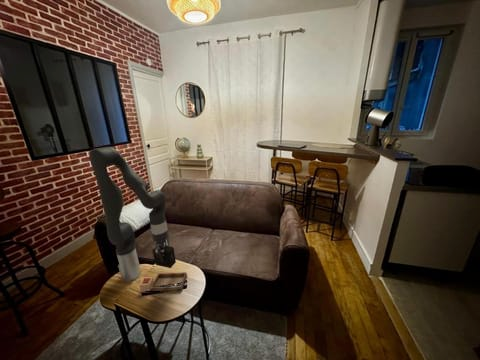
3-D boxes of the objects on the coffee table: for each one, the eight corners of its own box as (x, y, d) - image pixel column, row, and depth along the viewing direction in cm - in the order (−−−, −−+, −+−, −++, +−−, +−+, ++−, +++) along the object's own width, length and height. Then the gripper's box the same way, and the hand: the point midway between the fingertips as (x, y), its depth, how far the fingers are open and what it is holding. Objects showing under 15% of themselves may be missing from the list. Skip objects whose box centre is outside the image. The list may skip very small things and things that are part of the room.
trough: (151, 292, 102) (150, 288, 101) (159, 276, 112) (158, 273, 111) (181, 291, 101) (181, 287, 101) (187, 276, 111) (186, 272, 111)
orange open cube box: (141, 292, 102) (139, 284, 100) (145, 284, 107) (143, 277, 105) (150, 292, 102) (148, 284, 100) (154, 284, 107) (152, 277, 105)
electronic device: (171, 268, 99) (168, 252, 96) (155, 265, 102) (152, 249, 99) (176, 262, 103) (173, 246, 100) (160, 259, 106) (157, 244, 103)
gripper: (158, 222, 103) (162, 249, 109) (145, 238, 90) (151, 268, 95) (171, 222, 103) (176, 249, 108) (161, 237, 90) (166, 267, 95)
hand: (164, 258), depth 102 cm, fingers closed on electronic device, 3 cm apart
